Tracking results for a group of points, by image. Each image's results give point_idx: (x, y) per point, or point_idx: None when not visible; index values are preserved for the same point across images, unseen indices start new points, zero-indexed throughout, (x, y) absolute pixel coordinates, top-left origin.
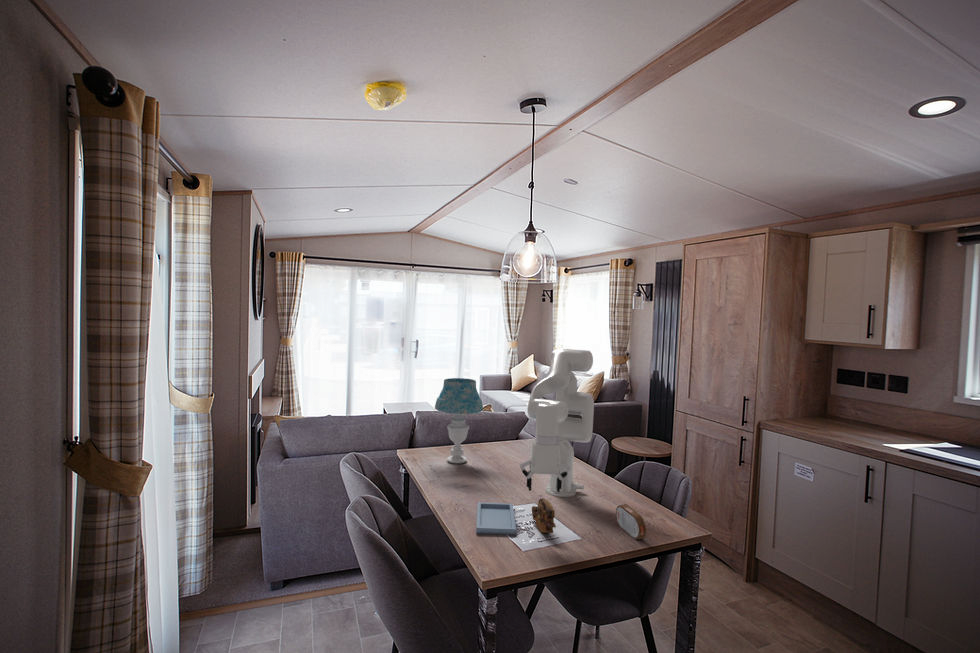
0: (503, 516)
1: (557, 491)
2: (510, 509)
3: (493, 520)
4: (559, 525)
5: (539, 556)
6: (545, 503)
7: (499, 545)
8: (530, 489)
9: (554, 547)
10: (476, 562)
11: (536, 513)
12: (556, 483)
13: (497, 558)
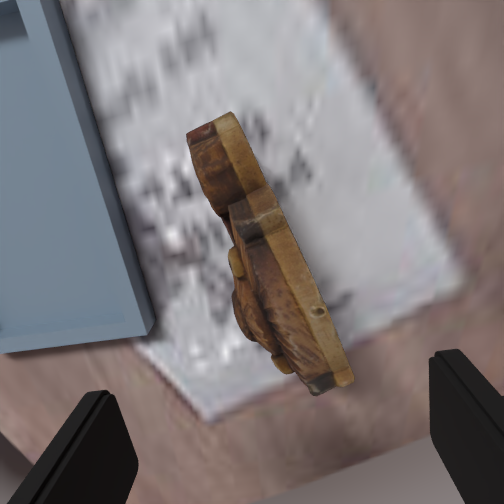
0: (41, 154)
1: (432, 437)
2: (49, 90)
3: (11, 219)
4: (367, 165)
5: (269, 442)
6: (289, 345)
7: None
8: (127, 481)
9: None
10: None
11: (228, 232)
12: (467, 410)
13: None
